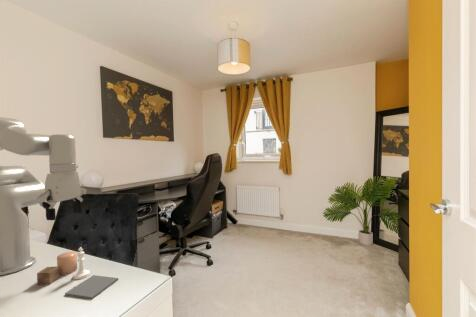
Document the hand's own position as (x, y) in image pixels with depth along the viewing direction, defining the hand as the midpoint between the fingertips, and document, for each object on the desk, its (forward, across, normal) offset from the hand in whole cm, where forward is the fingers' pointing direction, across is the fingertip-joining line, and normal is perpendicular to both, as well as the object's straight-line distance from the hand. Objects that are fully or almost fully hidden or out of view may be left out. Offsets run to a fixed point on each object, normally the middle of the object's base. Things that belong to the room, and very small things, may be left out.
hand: (65, 215), depth 80 cm
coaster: (+20, +6, +18) cm, 28 cm away
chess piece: (+20, +1, +8) cm, 22 cm away
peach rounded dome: (+20, 0, 0) cm, 20 cm away
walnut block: (+20, +6, 0) cm, 21 cm away
